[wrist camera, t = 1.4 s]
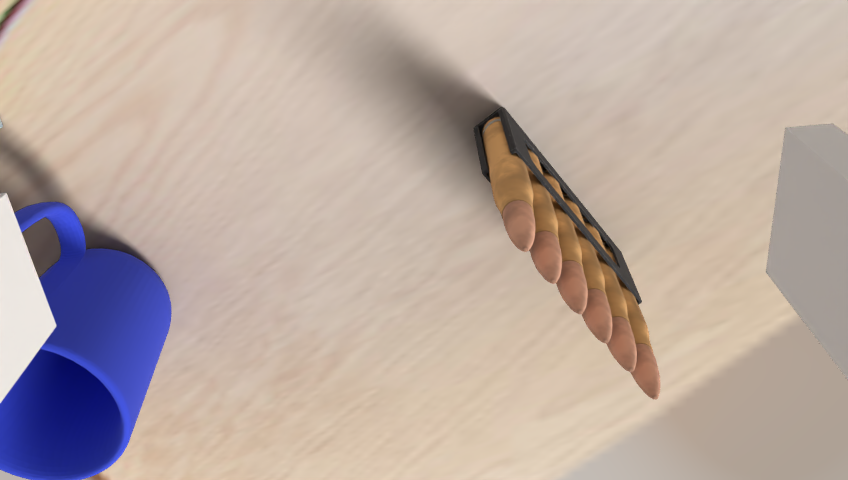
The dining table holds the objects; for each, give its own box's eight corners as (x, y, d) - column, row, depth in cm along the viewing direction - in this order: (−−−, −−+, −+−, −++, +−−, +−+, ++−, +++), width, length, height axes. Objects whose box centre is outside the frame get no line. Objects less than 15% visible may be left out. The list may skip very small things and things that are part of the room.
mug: (143, 151, 39) (61, 249, 30) (206, 346, 45) (152, 475, 36) (-14, 171, 40) (-139, 272, 31) (68, 360, 45) (-18, 491, 37)
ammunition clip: (472, 128, 38) (489, 246, 28) (502, 105, 38) (531, 216, 27) (593, 272, 42) (648, 423, 32) (622, 253, 42) (688, 400, 31)
